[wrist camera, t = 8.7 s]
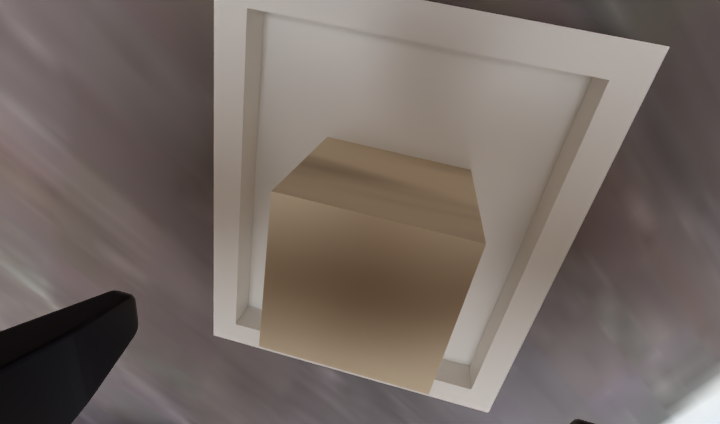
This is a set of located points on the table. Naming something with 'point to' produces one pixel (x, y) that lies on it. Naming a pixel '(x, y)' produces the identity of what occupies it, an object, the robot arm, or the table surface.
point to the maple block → (370, 261)
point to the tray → (422, 142)
